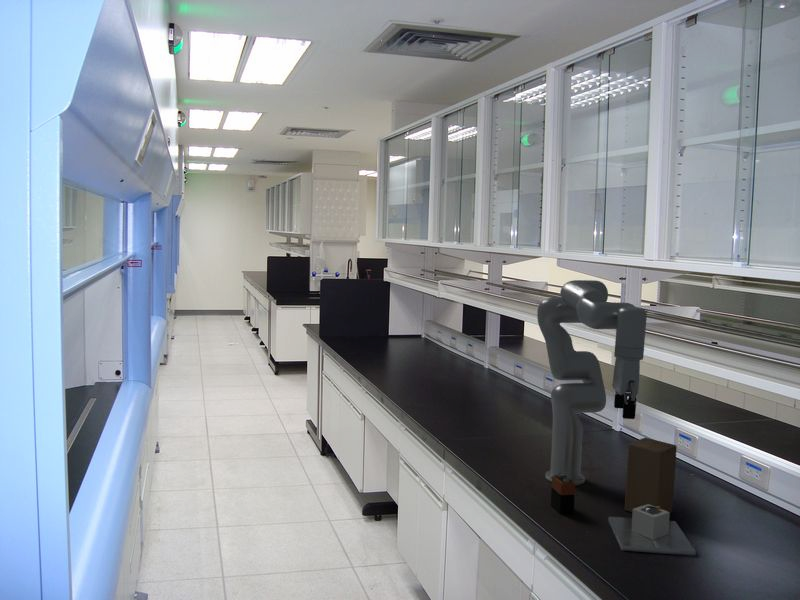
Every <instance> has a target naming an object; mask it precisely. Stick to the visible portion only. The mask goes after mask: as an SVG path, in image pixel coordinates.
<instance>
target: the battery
mask: <svg viewBox="0 0 800 600" xmlns="http://www.w3.org/2000/svg"><path fill="white" fill-rule="evenodd" d="M550 489H551V490H550V492H551V493H550V505H551V507H553V509H554V510H556V511H557V512H558V513H559V514H560V515H563V514H566V515H567V514H573V513H574V512H575V511H574V510H575V497H576V496H575V494H576V486H575V482H573V481H572V480H571V479H569V478H568V477H567V476H566V475H565V474H564V473H558V475H554V476H552V482H551V488H550Z"/></svg>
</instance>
